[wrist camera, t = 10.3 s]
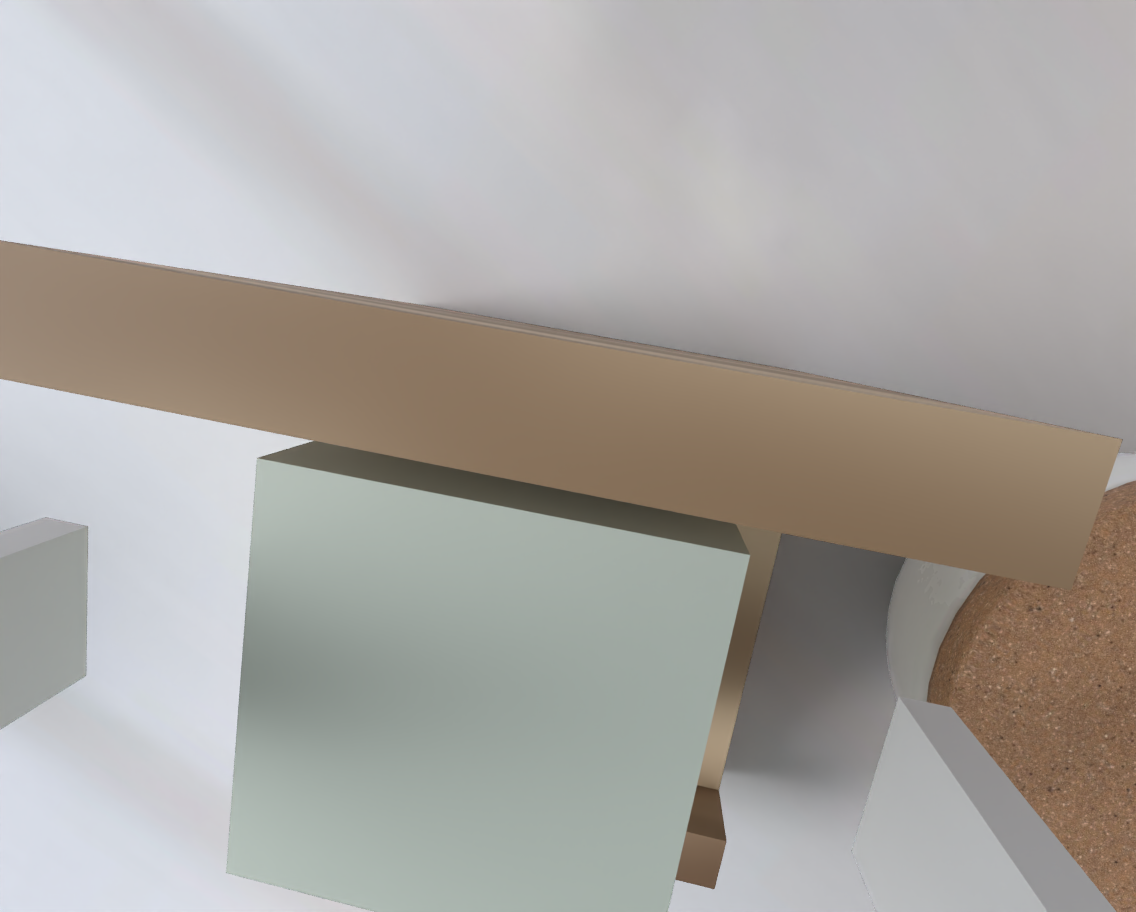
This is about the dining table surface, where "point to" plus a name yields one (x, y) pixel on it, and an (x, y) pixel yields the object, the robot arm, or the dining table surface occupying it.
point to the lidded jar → (1042, 681)
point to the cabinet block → (472, 687)
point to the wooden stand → (572, 427)
